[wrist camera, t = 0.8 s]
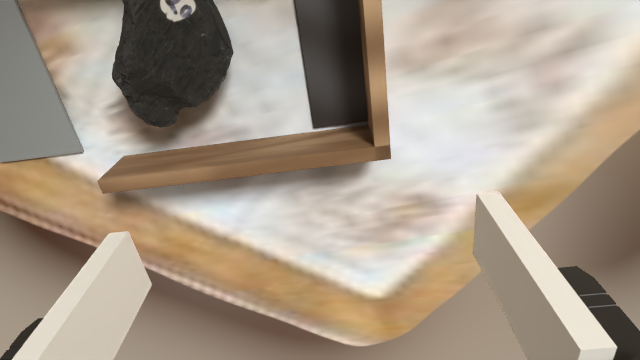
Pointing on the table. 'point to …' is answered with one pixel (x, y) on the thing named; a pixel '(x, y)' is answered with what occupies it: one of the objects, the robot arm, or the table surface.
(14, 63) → the mat
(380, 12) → the open wooden frame
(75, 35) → the table surface
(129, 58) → the rock
